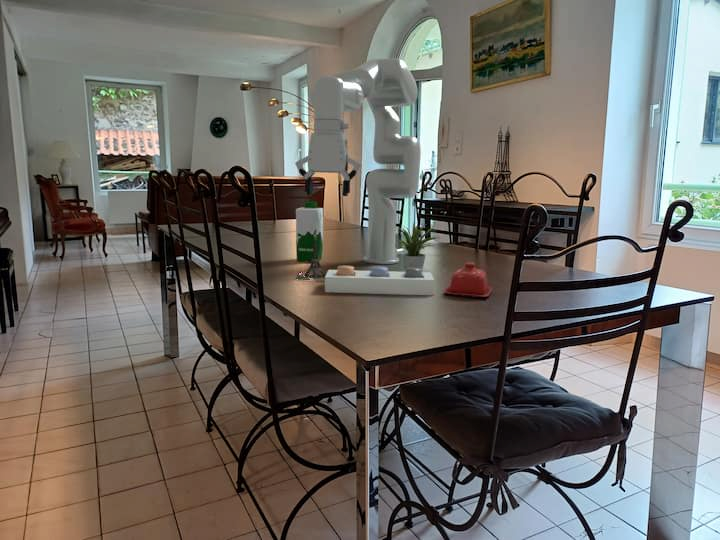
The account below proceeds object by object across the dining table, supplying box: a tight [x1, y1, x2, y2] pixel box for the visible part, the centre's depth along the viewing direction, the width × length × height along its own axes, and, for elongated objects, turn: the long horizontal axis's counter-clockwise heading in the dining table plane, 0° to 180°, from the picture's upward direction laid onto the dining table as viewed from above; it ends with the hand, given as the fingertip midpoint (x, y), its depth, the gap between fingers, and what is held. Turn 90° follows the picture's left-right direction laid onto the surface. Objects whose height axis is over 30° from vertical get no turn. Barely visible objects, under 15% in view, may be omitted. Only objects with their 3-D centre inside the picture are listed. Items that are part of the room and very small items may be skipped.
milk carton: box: [295, 201, 324, 263], centre depth 178 cm, size 9×9×20 cm
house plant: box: [394, 222, 441, 272], centre depth 156 cm, size 14×14×16 cm
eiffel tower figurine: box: [295, 236, 327, 283], centre depth 152 cm, size 15×10×13 cm
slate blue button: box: [370, 265, 389, 277], centre depth 138 cm, size 4×4×3 cm
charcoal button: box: [405, 267, 423, 278], centre depth 137 cm, size 4×4×3 cm
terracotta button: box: [336, 265, 355, 276], centre depth 138 cm, size 4×4×3 cm
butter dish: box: [443, 261, 493, 298], centre depth 136 cm, size 12×12×8 cm
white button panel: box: [324, 269, 436, 296], centre depth 138 cm, size 28×10×4 cm, turn 88°
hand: (327, 195), depth 137 cm, fingers open, 9 cm apart
